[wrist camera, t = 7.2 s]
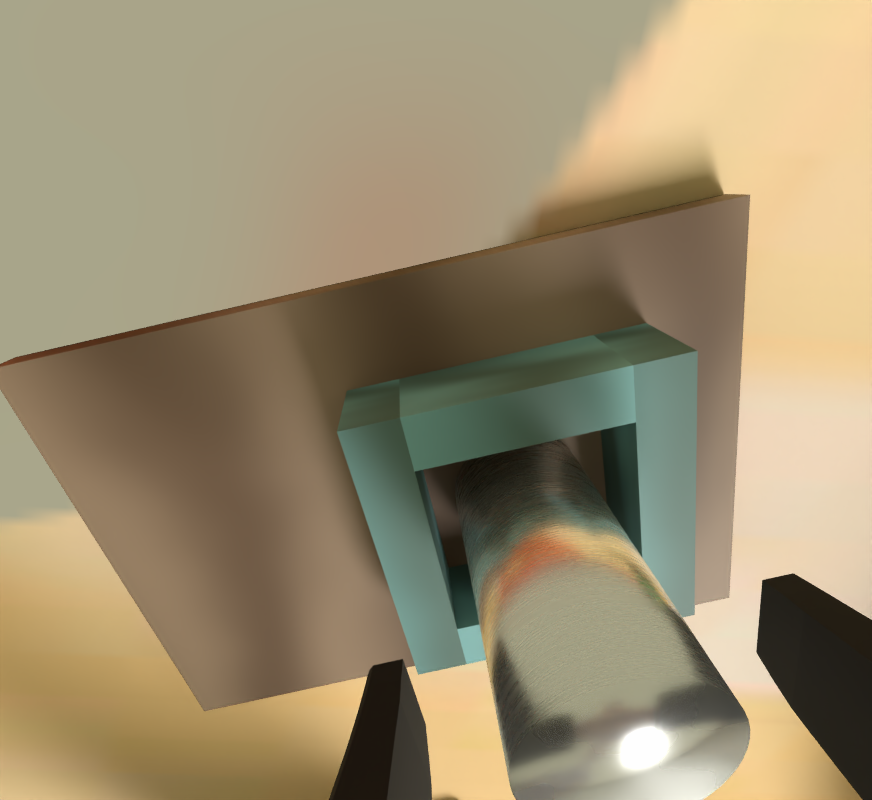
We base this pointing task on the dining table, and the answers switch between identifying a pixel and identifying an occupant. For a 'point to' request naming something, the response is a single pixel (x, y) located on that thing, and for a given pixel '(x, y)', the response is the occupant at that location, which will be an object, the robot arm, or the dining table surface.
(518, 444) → the socket board
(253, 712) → the dining table surface
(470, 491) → the steel pin
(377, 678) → the robot arm
